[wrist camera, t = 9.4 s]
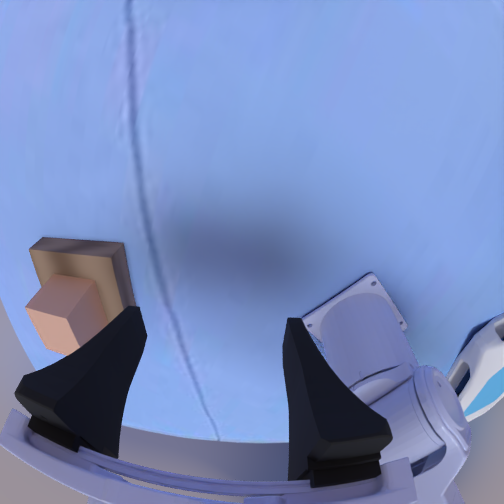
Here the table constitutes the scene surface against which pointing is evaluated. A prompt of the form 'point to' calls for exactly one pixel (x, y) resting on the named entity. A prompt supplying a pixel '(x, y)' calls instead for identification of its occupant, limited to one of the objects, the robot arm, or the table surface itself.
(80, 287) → the cube
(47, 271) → the base block
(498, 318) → the white step stool
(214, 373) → the table surface
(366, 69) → the table surface
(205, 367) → the table surface
